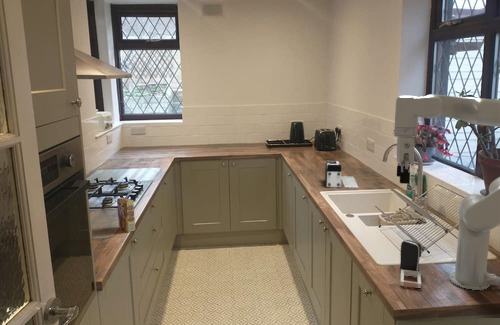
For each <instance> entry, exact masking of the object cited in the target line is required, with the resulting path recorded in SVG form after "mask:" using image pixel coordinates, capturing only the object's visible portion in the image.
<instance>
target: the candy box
mask: <svg viewBox="0 0 500 325" xmlns="http://www.w3.org/2000/svg"><path fill="white" fill-rule="evenodd" d="M134 203H135V202H134V200H133V199H130V198H127V197H120V198H116V205H117V207H116V208H117V218H118V228H119V229H120V230H122V231H125V232H126V233H132V232H134V231H136V219H135V204H134Z"/></svg>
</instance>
